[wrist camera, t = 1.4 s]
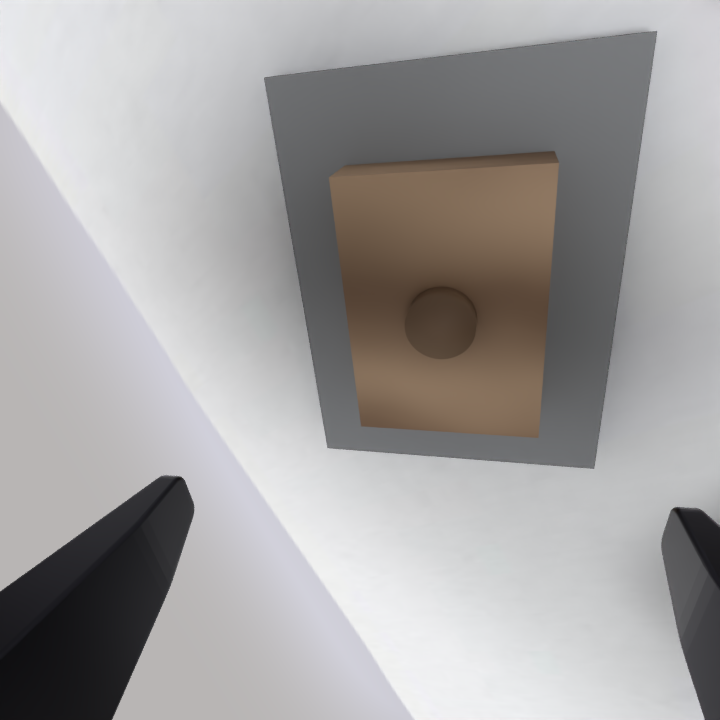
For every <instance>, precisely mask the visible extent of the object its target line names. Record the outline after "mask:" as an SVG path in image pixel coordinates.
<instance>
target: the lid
mask: <svg viewBox="0 0 720 720" xmlns="http://www.w3.org/2000/svg"><path fill="white" fill-rule="evenodd" d="M558 170H559V161H558V159H557V156H556V153H555V151H548V152H533V153H519V154H504V155H489V156H475V157H460V158H445V159H431V160H416V161H401V162H387V163H372V164H357V165H345V166H344V167H342V168H341V169H340V170H338V171H337V172H335V173H334V174H333V175H331V176H330V177H329V182H330V190H331V198H332V206H333V213H334V221H335V229H336V236H337V244H338V252H339V260H340V267H341V275H342V283H343V291H344V298H345V306H346V314H347V322H348V329H349V337H350V345H351V353H352V360H353V368H354V376H355V383H356V391H357V399H358V407H359V414H360V422H361V426H362V427H377V428H393V429H408V430H423V431H439V432H454V433H469V434H485V435H500V436H515V437H531V438H539V425H540V412H541V398H542V385H543V371H544V358H545V345H546V331H547V318H548V304H549V291H550V277H551V264H552V251H553V237H554V224H555V210H556V197H557V184H558Z"/></svg>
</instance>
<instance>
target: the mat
mask: <svg viewBox="0 0 720 720" xmlns="http://www.w3.org/2000/svg"><path fill="white" fill-rule="evenodd" d="M656 36H657V31H654V32H644V33H635V34H627V35H618V36H610V37H602V38H593V39H585V40H576V41H568V42H559V43H551V44H542V45H534V46H525V47H517V48H509V49H500V50H492V51H483V52H475V53H466V54H458V55H449V56H441V57H433V58H424V59H416V60H407V61H399V62H390V63H382V64H373V65H365V66H356V67H348V68H340V69H331V70H323V71H314V72H306V73H297V74H289V75H280V76H272V77H266V78H264V80H265V86H266V92H267V97H268V103H269V109H270V115H271V121H272V127H273V132H274V138H275V144H276V150H277V156H278V162H279V167H280V173H281V179H282V185H283V191H284V196H285V202H286V208H287V214H288V220H289V226H290V231H291V237H292V243H293V249H294V255H295V261H296V266H297V272H298V278H299V284H300V290H301V296H302V301H303V307H304V313H305V319H306V325H307V330H308V336H309V342H310V348H311V354H312V360H313V365H314V371H315V377H316V383H317V389H318V395H319V400H320V406H321V412H322V418H323V424H324V430H325V435H326V441H327V447H328V448H333V449H346V450H359V451H372V452H385V453H398V454H411V455H424V456H437V457H449V458H462V459H475V460H488V461H501V462H514V463H527V464H540V465H553V466H566V467H578V468H591V469H594V466H595V459H596V452H597V445H598V438H599V431H600V424H601V418H602V411H603V404H604V397H605V390H606V383H607V376H608V369H609V362H610V355H611V348H612V341H613V334H614V327H615V320H616V313H617V306H618V299H619V293H620V286H621V279H622V272H623V265H624V258H625V251H626V244H627V237H628V230H629V223H630V216H631V209H632V202H633V195H634V188H635V181H636V175H637V168H638V161H639V154H640V147H641V140H642V133H643V126H644V119H645V112H646V105H647V98H648V91H649V84H650V77H651V70H652V63H653V56H654V50H655V43H656ZM548 151H555V153H556V156H557V159H558V161H559V170H558V184H557V197H556V210H555V224H554V237H553V251H552V264H551V277H550V291H549V304H548V318H547V331H546V345H545V358H544V371H543V385H542V398H541V412H540V425H539V438H531V437H515V436H500V435H485V434H469V433H454V432H439V431H423V430H408V429H393V428H377V427H362V426H361V422H360V414H359V407H358V399H357V391H356V383H355V376H354V368H353V360H352V353H351V345H350V337H349V329H348V322H347V314H346V306H345V298H344V291H343V283H342V275H341V267H340V260H339V252H338V244H337V236H336V229H335V221H334V213H333V206H332V198H331V190H330V182H329V177H330V176H331V175H333V174H334V173H335V172H337V171H338V170H340V169H341V168H342V167H344V166H345V165H357V164H372V163H387V162H401V161H416V160H431V159H445V158H460V157H475V156H489V155H504V154H519V153H533V152H548Z"/></svg>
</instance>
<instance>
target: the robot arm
mask: <svg viewBox="0 0 720 720" xmlns="http://www.w3.org/2000/svg"><path fill="white" fill-rule="evenodd" d="M193 515H194V503H193V500H192V498H191V495H190V493H189V490H188V488H187V485H186V482H185V480H184V479H183V478H182V477H180V476H168V475H165V476H161V477H159V478H158V479H156V480H155V481H153V482H152V483H151V484H149V485H148V486H146V487H145V488H144V489H142V490H141V491H139V492H138V493H137V494H135V495H134V496H132V497H131V498H130V499H128V500H127V501H125V502H124V503H123V504H122V505H120V506H119V507H117V508H116V509H114V510H113V511H112V512H110V513H109V514H107V515H106V516H105V517H103V518H102V519H100V520H99V521H98V522H96V523H95V524H93V525H92V526H91V527H89V528H88V529H86V530H85V531H84V532H82V533H81V534H80V535H78V536H77V537H76V538H74V539H73V540H71V541H70V542H68V543H67V544H66V545H64V546H63V547H61V548H60V549H59V550H57V551H56V552H55V553H53V554H52V555H50V556H49V557H47V558H46V559H45V560H43V561H42V562H41V563H39V564H38V565H36V566H35V567H34V568H32V569H31V570H29V571H28V572H27V573H25V574H24V575H22V576H21V577H20V578H18V579H17V580H16V581H14V582H13V583H11V584H10V585H9V586H7V587H6V588H4V589H3V590H2V591H0V720H112V719H113V716H114V714H115V712H116V710H117V707H118V705H119V703H120V700H121V698H122V696H123V694H124V691H125V689H126V687H127V684H128V682H129V680H130V678H131V675H132V673H133V671H134V669H135V666H136V664H137V662H138V659H139V657H140V655H141V653H142V650H143V648H144V646H145V643H146V641H147V639H148V637H149V634H150V632H151V630H152V627H153V625H154V623H155V621H156V618H157V616H158V614H159V612H160V609H161V607H162V604H163V602H164V600H165V598H166V595H167V593H168V591H169V588H170V586H171V583H172V580H173V577H174V574H175V571H176V568H177V565H178V562H179V559H180V556H181V553H182V549H183V546H184V543H185V540H186V537H187V534H188V531H189V528H190V525H191V522H192V519H193ZM661 547H662V555H663V560H664V565H665V570H666V575H667V580H668V585H669V590H670V595H671V600H672V605H673V610H674V615H675V620H676V625H677V629H678V634H679V638H680V642H681V646H682V649H683V653H684V656H685V659H686V662H687V666H688V669H689V672H690V675H691V678H692V681H693V684H694V687H695V690H696V694H697V697H698V700H699V703H700V706H701V709H702V712H703V715H704V718H705V720H720V526H719V525H718V524H717V523H716V522H715V521H714V520H713V519H712V518H710V517H709V516H708V515H707V514H706V513H705V512H704V511H702V510H700V509H697V508H684V507H675V508H673V509H672V510H671V512H670V515H669V518H668V521H667V524H666V527H665V530H664V534H663V537H662V544H661Z"/></svg>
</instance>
